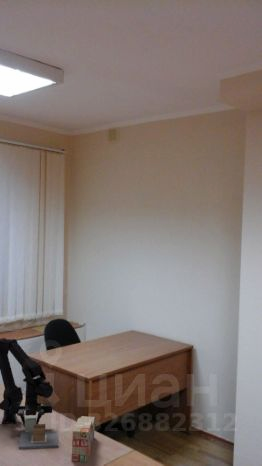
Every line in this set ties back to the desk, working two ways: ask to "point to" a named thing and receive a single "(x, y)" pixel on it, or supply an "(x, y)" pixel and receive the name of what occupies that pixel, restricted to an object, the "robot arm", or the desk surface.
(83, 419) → the stack of blocks
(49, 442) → the blueprint board
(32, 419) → the sage block
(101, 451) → the desk surface
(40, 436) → the walnut block
